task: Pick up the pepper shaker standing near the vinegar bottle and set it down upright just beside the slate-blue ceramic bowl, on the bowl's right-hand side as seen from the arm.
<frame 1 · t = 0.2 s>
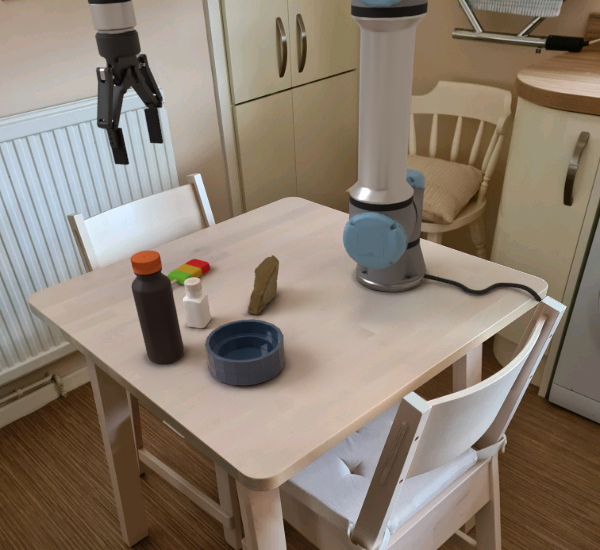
hand: (140, 153, 123), 28 cm above the table, tool pointing down, fingers open, 13 cm apart
rock: (260, 303, 130), on the table
bowl: (247, 365, 112), on the table
vinegar: (166, 355, 116), on the table
popsicle: (182, 281, 140), on the table
pepper shaker: (199, 324, 125), on the table
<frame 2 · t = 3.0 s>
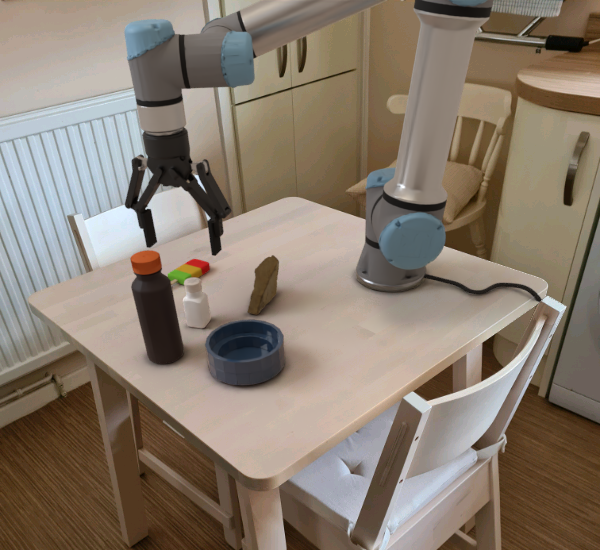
hand: (183, 248, 116), 16 cm above the table, tool pointing down, fingers open, 13 cm apart
nothing on the table moved.
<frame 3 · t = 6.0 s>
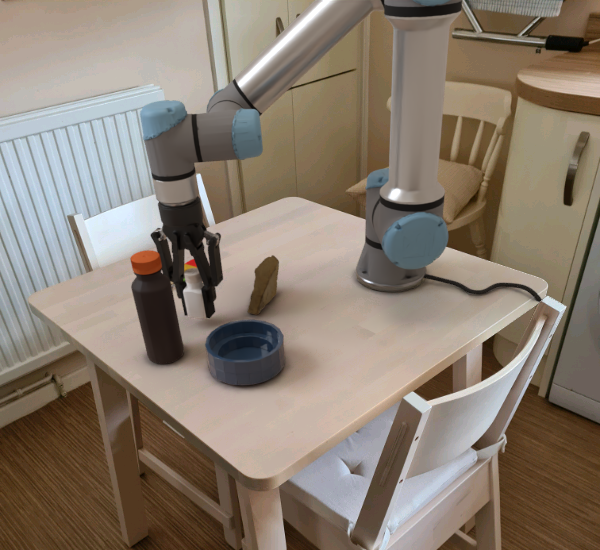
hand: (200, 313, 123), 2 cm above the table, tool pointing down, fingers closed on pepper shaker, 4 cm apart
pepper shaker: (200, 315, 123), point 2 cm above the table, touching gripper
everything else where it was.
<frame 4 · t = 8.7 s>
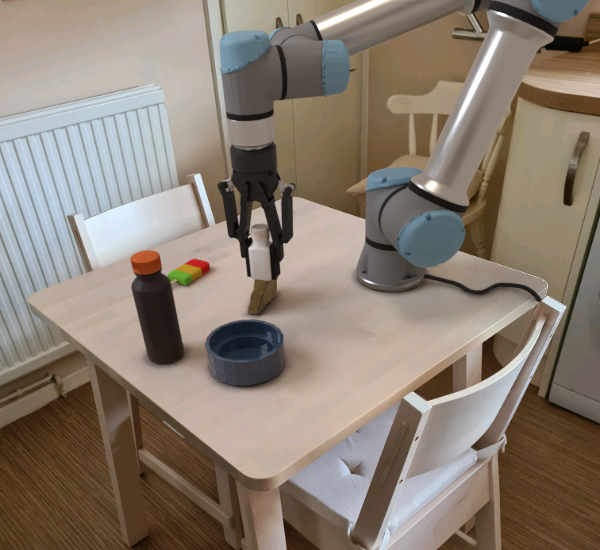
hand: (264, 274, 114), 12 cm above the table, tool pointing down, fingers closed on pepper shaker, 4 cm apart
pepper shaker: (264, 277, 114), point 12 cm above the table, touching gripper
everything else where it was.
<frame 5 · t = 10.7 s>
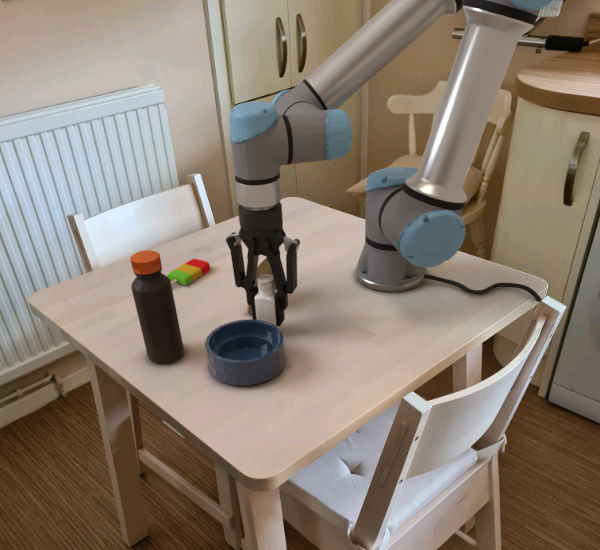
hand: (268, 320, 120), 2 cm above the table, tool pointing down, fingers closed on pepper shaker, 4 cm apart
pepper shaker: (269, 322, 120), point 2 cm above the table, touching gripper
everything else where it was.
when the fingers open (0 cm above the table, at t = 11.6 s): pepper shaker stays where it is, on the table.
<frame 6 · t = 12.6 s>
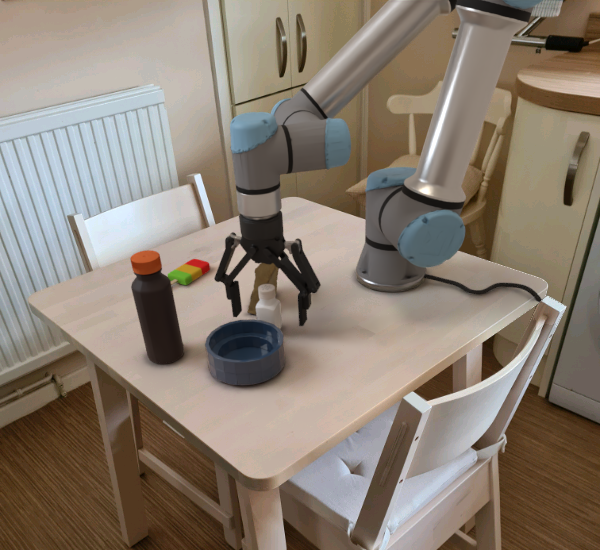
hand: (269, 318, 119), 3 cm above the table, tool pointing down, fingers open, 13 cm apart
pepper shaker: (270, 331, 121), on the table
everything else where it was.
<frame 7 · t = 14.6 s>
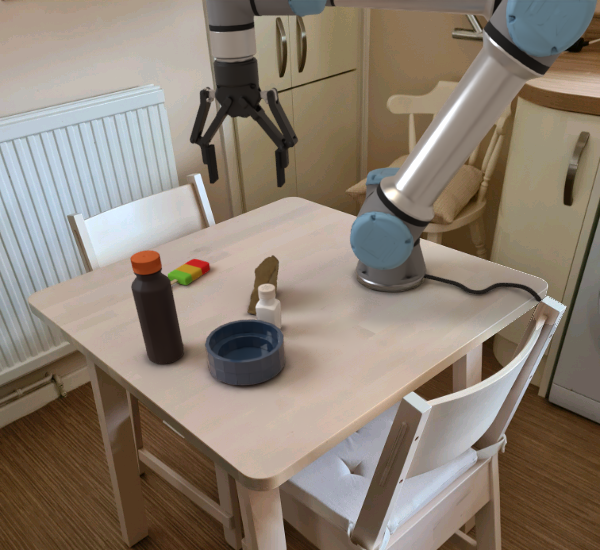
hand: (247, 183, 118), 24 cm above the table, tool pointing down, fingers open, 13 cm apart
nothing on the table moved.
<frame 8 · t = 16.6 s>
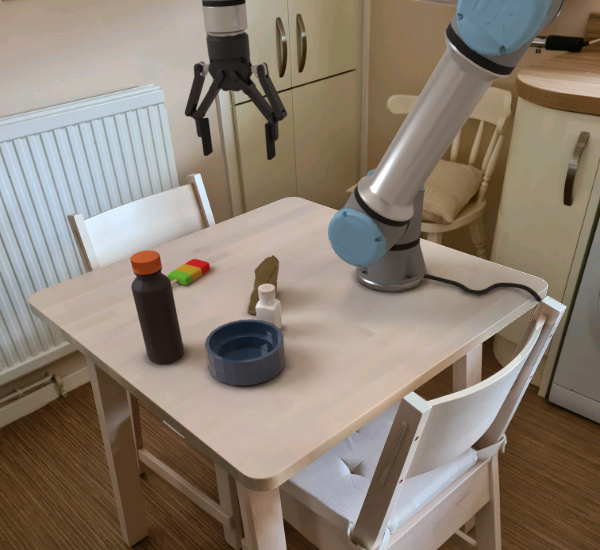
hand: (239, 156, 122), 27 cm above the table, tool pointing down, fingers open, 13 cm apart
nothing on the table moved.
at the end: pepper shaker inside the target area on the table beside the bowl (0.5 cm from its centre), on the table; pepper shaker tilted 0°; the gripper is holding nothing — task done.
